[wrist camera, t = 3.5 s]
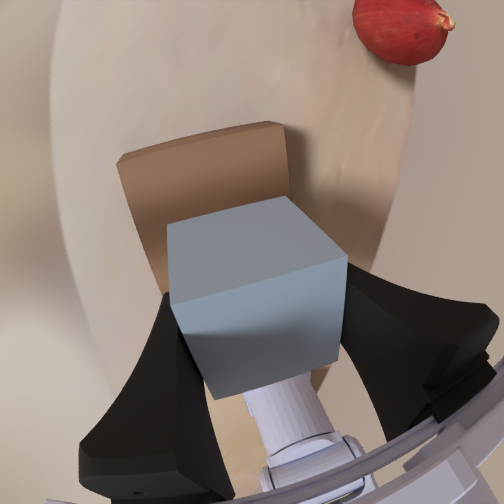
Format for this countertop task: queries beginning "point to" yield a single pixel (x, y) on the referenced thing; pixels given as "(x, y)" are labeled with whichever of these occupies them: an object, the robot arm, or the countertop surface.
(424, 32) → the onion
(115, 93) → the countertop surface
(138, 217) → the base
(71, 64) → the countertop surface
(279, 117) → the countertop surface
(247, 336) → the cube
